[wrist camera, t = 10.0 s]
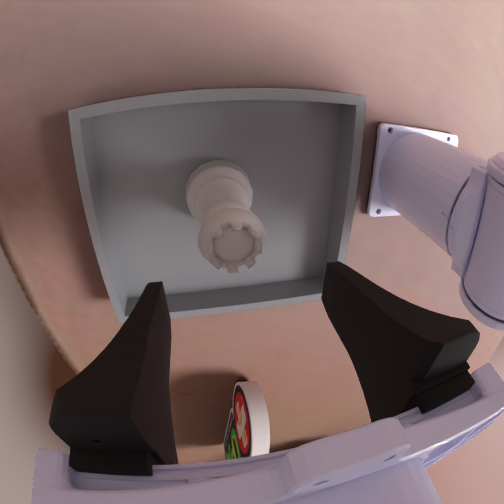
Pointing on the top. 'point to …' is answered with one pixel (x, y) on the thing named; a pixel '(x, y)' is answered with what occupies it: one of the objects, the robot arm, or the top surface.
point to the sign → (247, 423)
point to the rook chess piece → (225, 215)
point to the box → (200, 152)
